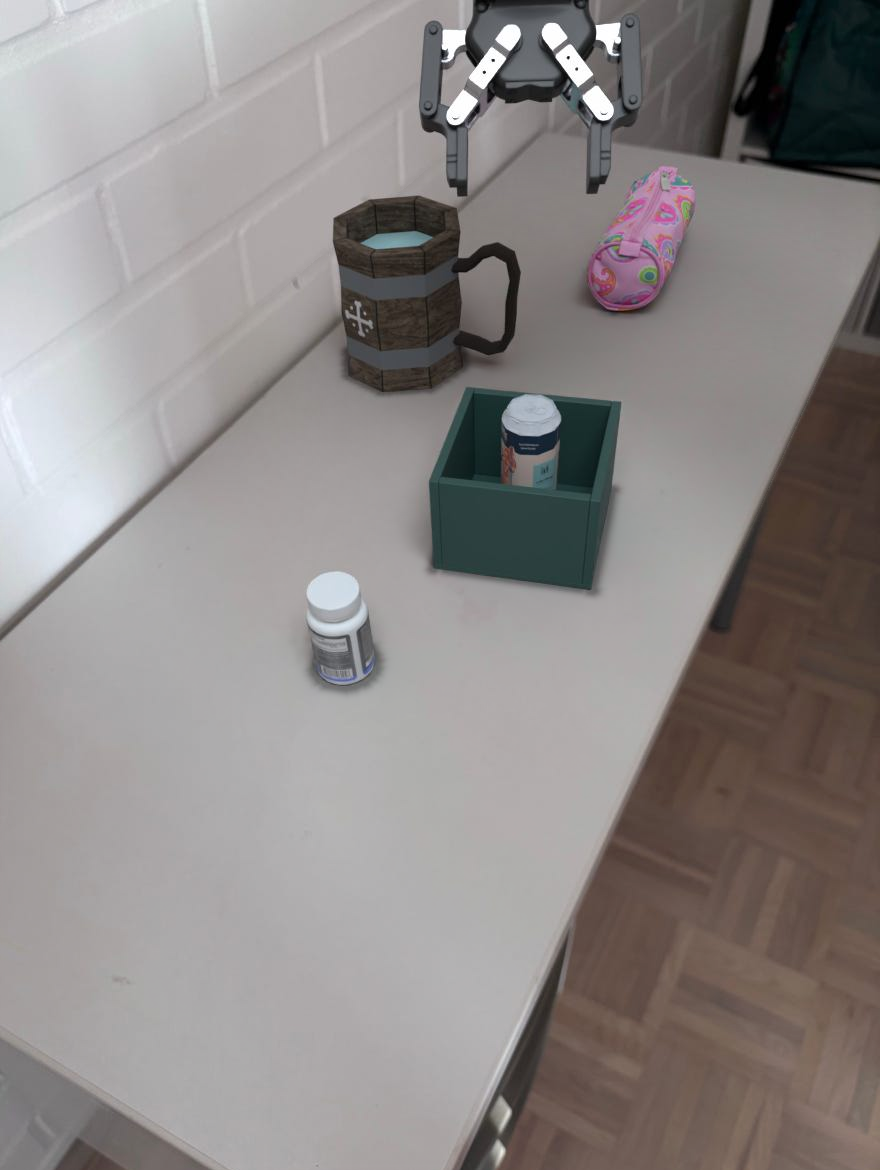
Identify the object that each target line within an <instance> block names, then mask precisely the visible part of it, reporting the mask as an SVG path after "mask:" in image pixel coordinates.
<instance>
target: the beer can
mask: <svg viewBox="0 0 880 1170" xmlns="http://www.w3.org/2000/svg"><path fill="white" fill-rule="evenodd" d="M560 430H561V415H560V413H559V411H558V410H557V408H556V406H555V404H554V402H553V400H551V399H549V398H547V397H544V396H542V395H530V394H525V395H522V396H520V397H517V398H514V399H512V401H511V402H510V404H509V405H508V407H507V409H506V410H505V411H504V413H503V415H502V434H501V484H508V485H516V486H525V487H533V488H542V489H551V490H557V476H558V460H559V445H560Z"/></svg>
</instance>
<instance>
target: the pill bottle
mask: <svg viewBox="0 0 880 1170" xmlns="http://www.w3.org/2000/svg"><path fill="white" fill-rule="evenodd" d="M305 596H306V601H307V607H306V611H305V622H306V625H307V629H308V630H307V631H308V635H309V639H310V644H311V649H312V655H313V658H314V664H315V667H316V670H317V673H318V674H319V676H320V677H321V678H322V679H323V680H325V681H326V682H328V683H329V684H334V685H339V686H347V685H352V684H355V683H358V682H360V681H361V680H364V679H365V678H366V677H367V676H368V675H370V673H371V672H372V671H373V668H374V666H375V660H376V659H375V656H376V655H375V650H374V648H375V647H374V642H373V634H372V627H371V621H370V614H369V613H370V612H369V606H368V603H367V602H366V600H365V599H364V597H363V596H362V592H361V586H360V584H359V582H358V580H357V578H356V577H354V575H352V574H349V573H347V572H344V571H338V570H337V571H336V570H335V571H327V572H324V573H322V574H319V575H317V576H316V577H314V578H313V579H312V580H311V581H310V583H308V586H307V587H306V595H305Z"/></svg>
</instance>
